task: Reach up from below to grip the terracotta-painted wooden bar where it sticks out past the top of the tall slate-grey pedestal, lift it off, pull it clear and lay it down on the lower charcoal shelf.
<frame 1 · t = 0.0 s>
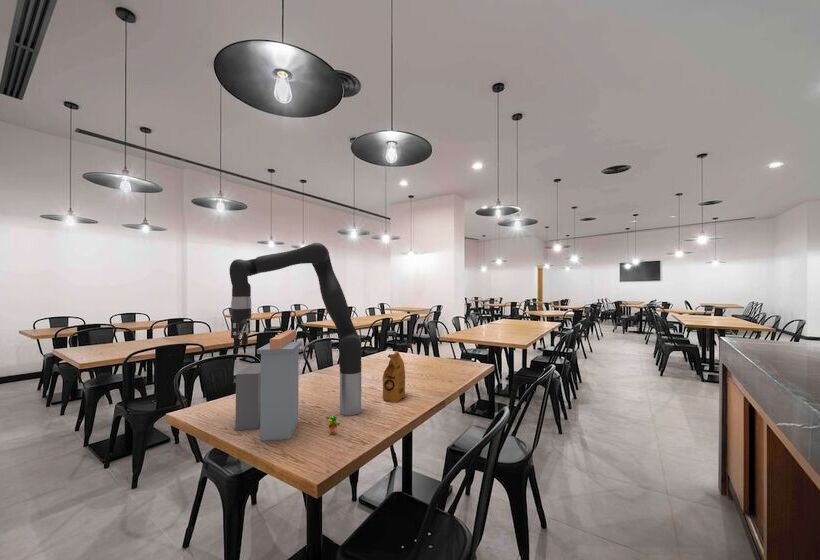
hand: (241, 346, 136), 29 cm above the table, tool pointing down, fingers open, 8 cm apart
bar: (284, 343, 128), point 32 cm above the table, touching pedestal
pedestal: (280, 431, 122), on the table
coffee package: (393, 398, 158), on the table
toy character: (330, 435, 119), on the table
shelf: (254, 420, 132), on the table
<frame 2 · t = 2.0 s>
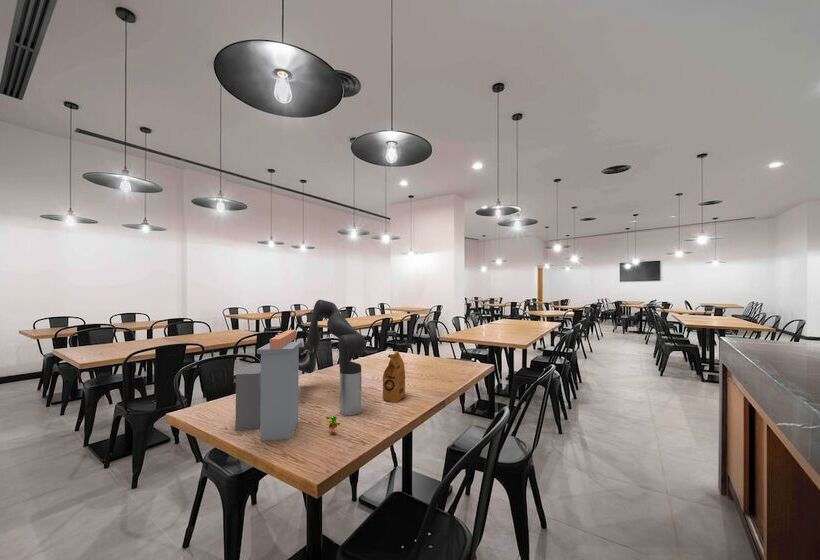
hand: (295, 344, 147), 28 cm above the table, tool pointing upward, fingers open, 8 cm apart
nothing on the table moved.
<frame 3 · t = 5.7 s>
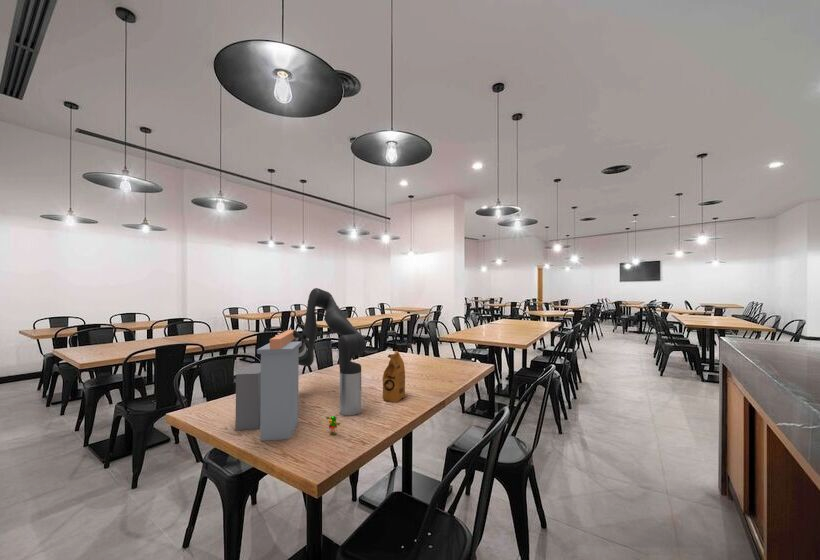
hand: (289, 332, 135), 35 cm above the table, tool pointing upward, fingers closed on bar, 3 cm apart
bar: (284, 343, 128), point 32 cm above the table, touching gripper, pedestal
everything else where it was.
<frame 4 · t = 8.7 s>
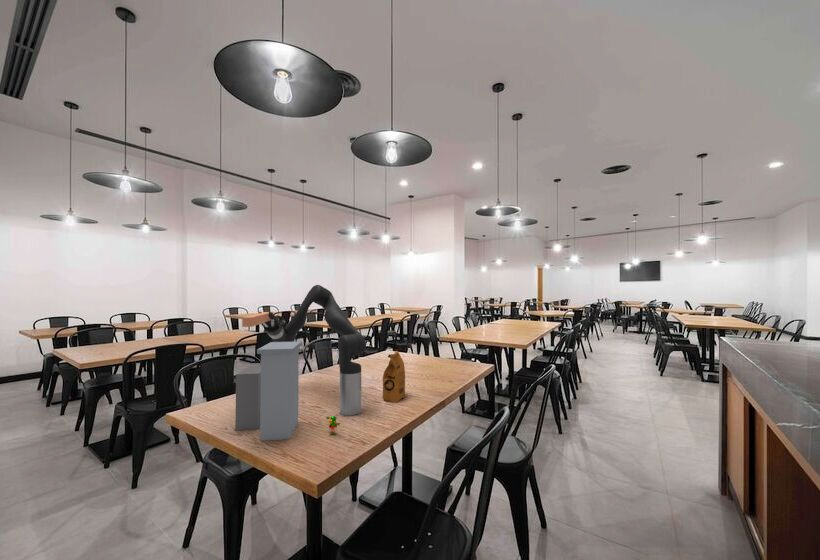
hand: (264, 313, 144), 42 cm above the table, tool pointing upward, fingers closed on bar, 3 cm apart
bar: (258, 322, 136), point 39 cm above the table, touching gripper
everything else where it was.
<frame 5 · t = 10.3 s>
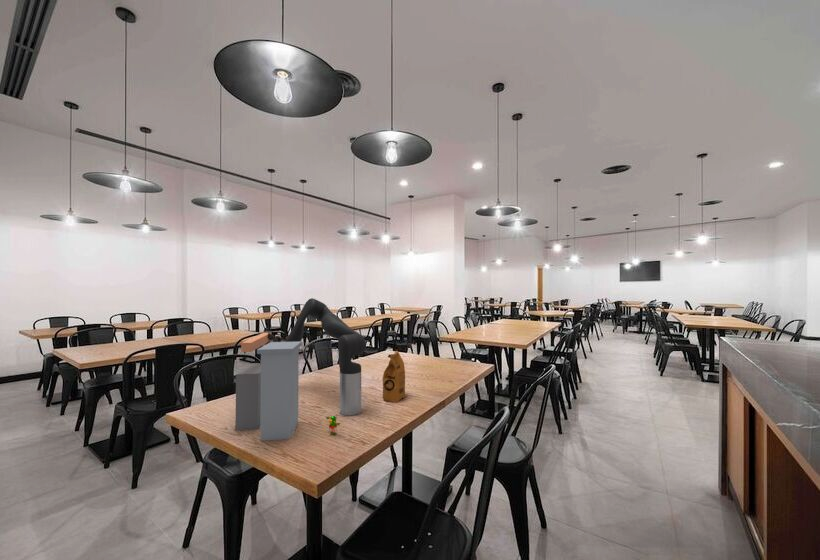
hand: (263, 335, 143), 33 cm above the table, tool pointing upward, fingers closed on bar, 3 cm apart
bar: (257, 345, 136), point 30 cm above the table, touching gripper
everything else where it was.
when the fingers open (26 cm above the table, at t = 11.8 s): bar drops 1 cm, resting on shelf.
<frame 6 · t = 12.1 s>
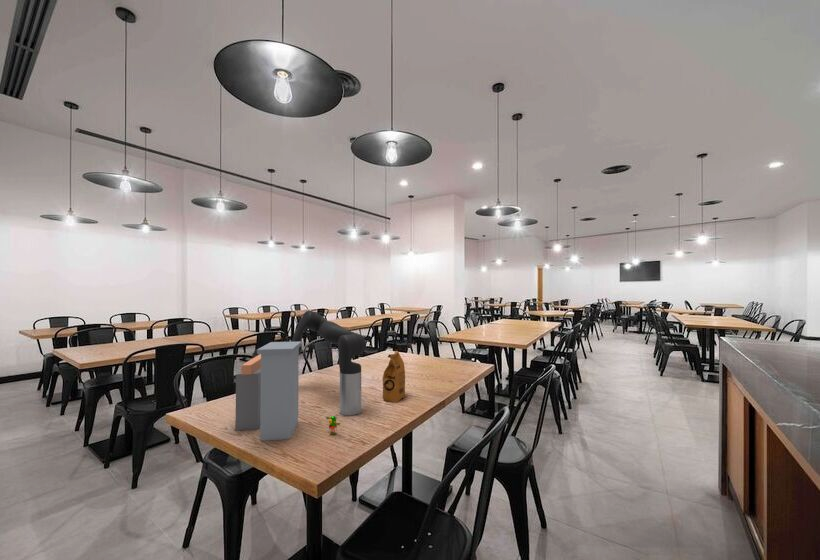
hand: (263, 351, 144), 25 cm above the table, tool pointing upward, fingers open, 6 cm apart
bar: (257, 366, 136), point 21 cm above the table, touching shelf
everything else where it was.
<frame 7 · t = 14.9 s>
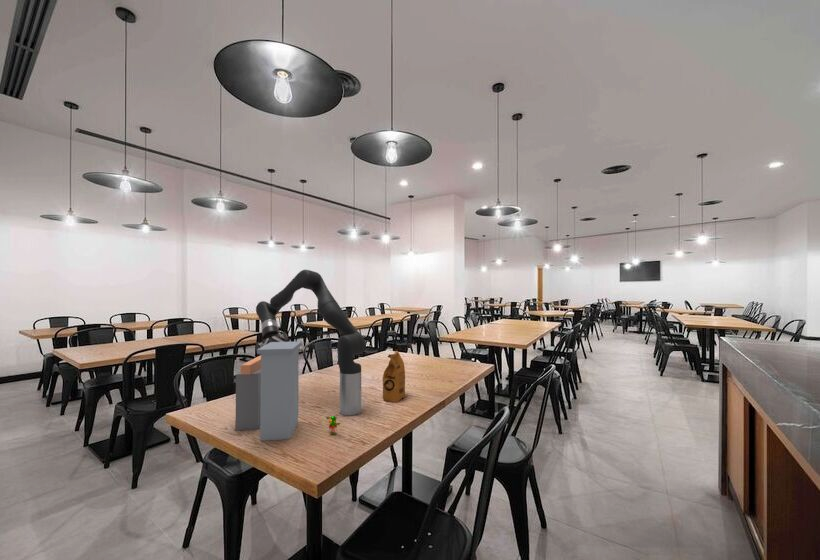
hand: (274, 354, 148), 24 cm above the table, tool tilted 55°, fingers open, 8 cm apart
bar: (259, 366, 136), point 21 cm above the table, touching gripper
everything else where it was.
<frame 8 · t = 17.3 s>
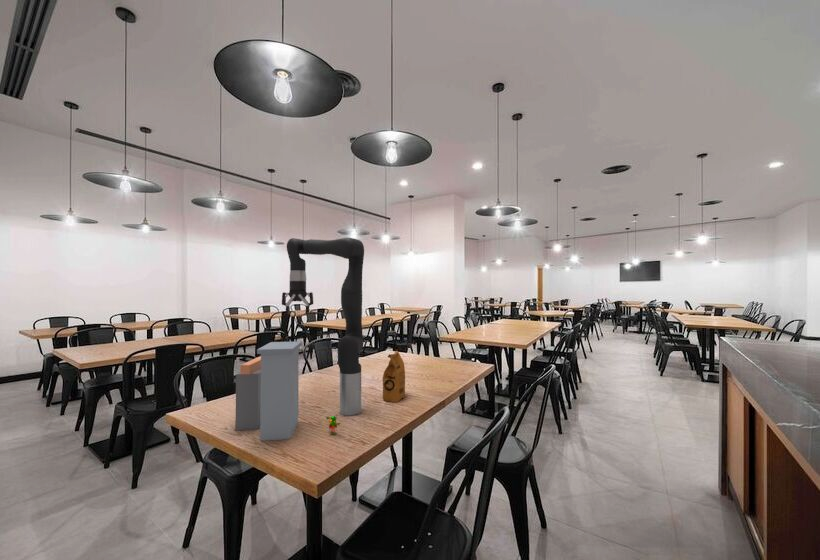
hand: (297, 314, 157), 41 cm above the table, tool pointing down, fingers open, 8 cm apart
bar: (260, 366, 136), point 21 cm above the table, touching shelf
everything else where it was.
at the end: bar inside the target area on the shelf (1.7 cm from its centre), point 21.0 cm above the shelf's base; bar touching shelf; the gripper is holding nothing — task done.
